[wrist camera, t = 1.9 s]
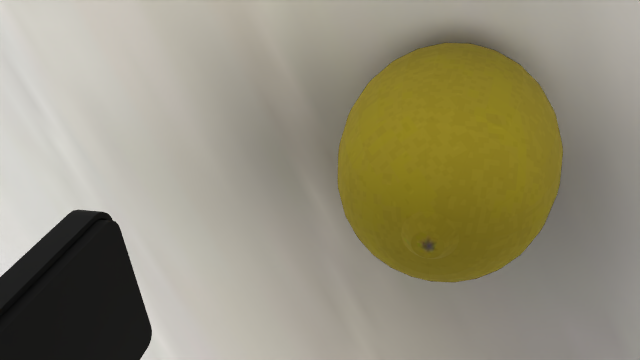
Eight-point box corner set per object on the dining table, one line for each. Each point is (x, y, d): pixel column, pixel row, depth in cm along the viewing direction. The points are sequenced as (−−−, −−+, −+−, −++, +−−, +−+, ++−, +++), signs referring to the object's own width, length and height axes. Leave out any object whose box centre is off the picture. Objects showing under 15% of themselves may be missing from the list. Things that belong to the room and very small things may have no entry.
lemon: (553, 172, 19) (571, 357, 12) (384, 175, 21) (321, 338, 14) (555, -2, 16) (579, 113, 10) (362, 19, 18) (273, 128, 12)
